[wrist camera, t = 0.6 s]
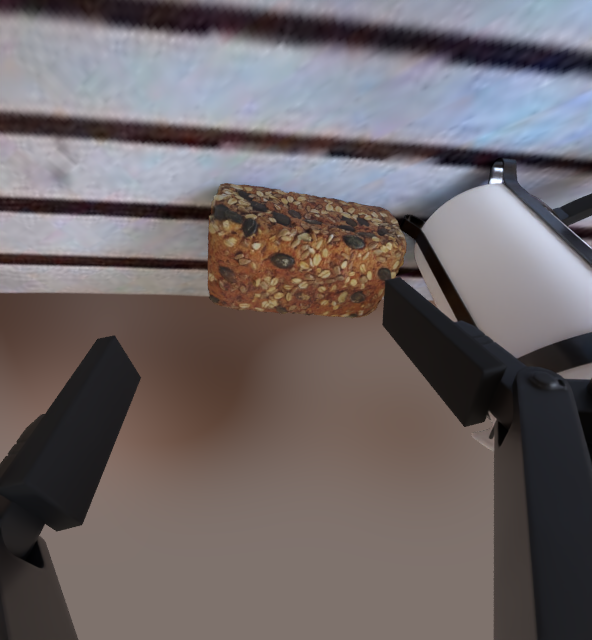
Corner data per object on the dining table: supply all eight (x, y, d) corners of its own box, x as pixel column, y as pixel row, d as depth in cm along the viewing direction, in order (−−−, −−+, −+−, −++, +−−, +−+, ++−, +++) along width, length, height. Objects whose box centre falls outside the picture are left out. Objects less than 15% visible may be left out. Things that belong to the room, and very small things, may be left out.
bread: (218, 256, 34) (205, 319, 28) (217, 168, 26) (200, 230, 20) (357, 275, 38) (373, 334, 32) (395, 203, 30) (426, 264, 24)
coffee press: (478, 278, 40) (656, 549, 21) (375, 265, 37) (477, 565, 18) (604, 145, 26) (1375, 561, 8) (458, 109, 24) (1137, 631, 5)
